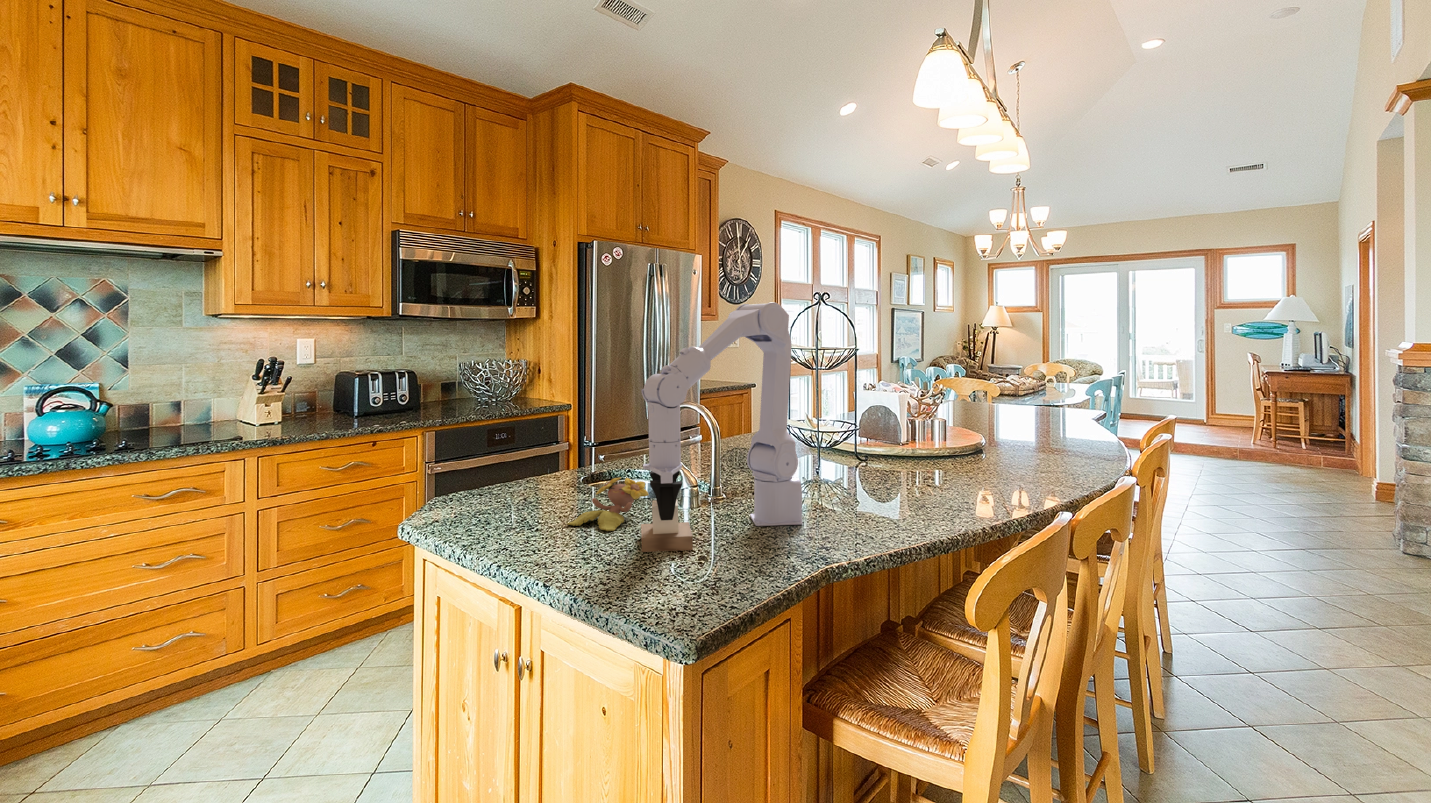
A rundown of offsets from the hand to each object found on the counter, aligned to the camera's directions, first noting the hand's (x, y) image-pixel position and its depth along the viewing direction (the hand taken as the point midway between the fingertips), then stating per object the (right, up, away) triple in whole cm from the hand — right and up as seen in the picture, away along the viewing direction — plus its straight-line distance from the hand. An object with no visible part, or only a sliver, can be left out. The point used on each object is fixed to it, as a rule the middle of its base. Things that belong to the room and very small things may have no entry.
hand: (665, 514), depth 125 cm
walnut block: (0, -6, +1) cm, 6 cm away
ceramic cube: (0, -3, 0) cm, 3 cm away
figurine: (-13, -4, +16) cm, 21 cm away
